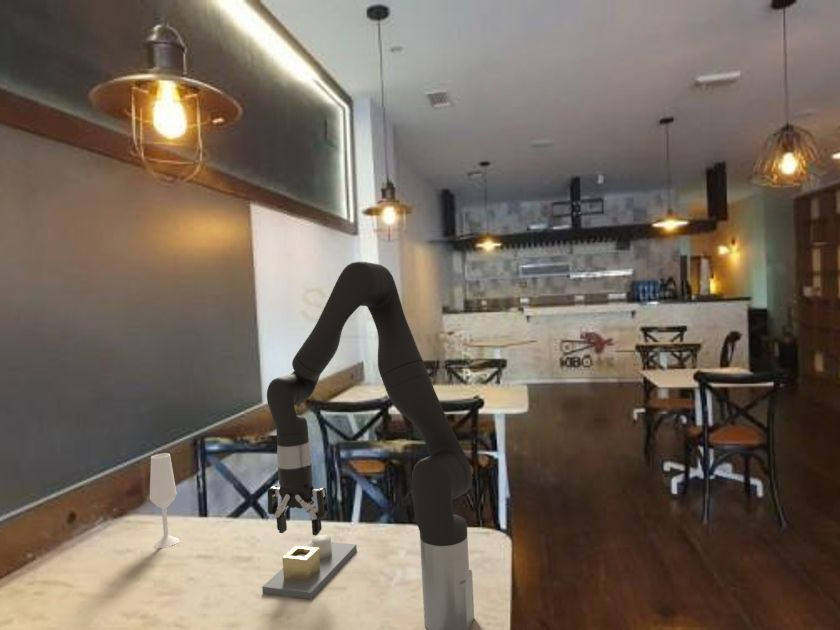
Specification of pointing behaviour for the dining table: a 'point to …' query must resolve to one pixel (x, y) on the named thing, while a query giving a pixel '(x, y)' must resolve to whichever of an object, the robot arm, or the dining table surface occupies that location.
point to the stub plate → (330, 563)
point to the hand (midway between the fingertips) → (299, 533)
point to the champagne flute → (163, 493)
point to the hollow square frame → (301, 563)
